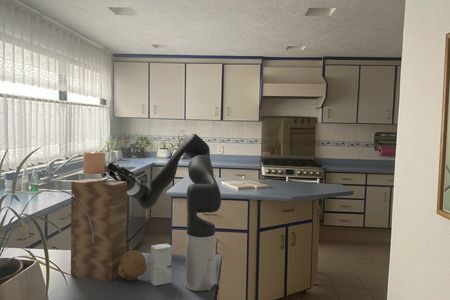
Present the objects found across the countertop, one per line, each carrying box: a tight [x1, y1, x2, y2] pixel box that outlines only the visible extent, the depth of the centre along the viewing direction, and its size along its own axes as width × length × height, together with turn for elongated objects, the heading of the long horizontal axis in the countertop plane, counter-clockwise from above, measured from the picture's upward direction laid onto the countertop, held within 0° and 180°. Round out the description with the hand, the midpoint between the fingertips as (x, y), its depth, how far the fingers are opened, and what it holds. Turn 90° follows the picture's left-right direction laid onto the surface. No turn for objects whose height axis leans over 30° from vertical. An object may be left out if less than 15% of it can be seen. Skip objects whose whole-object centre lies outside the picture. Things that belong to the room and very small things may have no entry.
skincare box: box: [149, 243, 173, 286], centre depth 116 cm, size 6×4×12 cm
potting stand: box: [70, 178, 128, 283], centre depth 121 cm, size 16×8×32 cm, turn 74°
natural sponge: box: [118, 249, 148, 281], centre depth 116 cm, size 9×9×10 cm
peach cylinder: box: [82, 151, 120, 175], centre depth 124 cm, size 7×16×7 cm, turn 164°
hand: (105, 164), depth 126 cm, fingers closed on peach cylinder, 3 cm apart
